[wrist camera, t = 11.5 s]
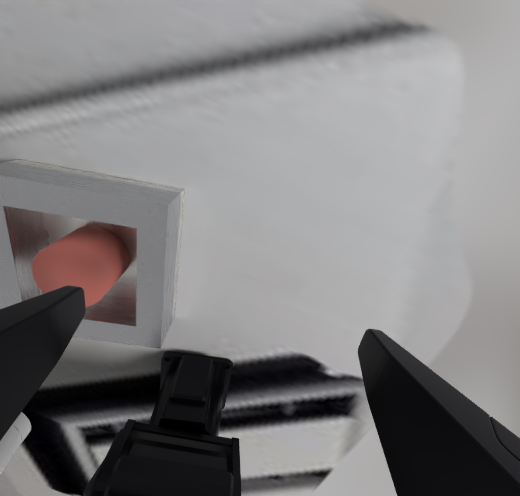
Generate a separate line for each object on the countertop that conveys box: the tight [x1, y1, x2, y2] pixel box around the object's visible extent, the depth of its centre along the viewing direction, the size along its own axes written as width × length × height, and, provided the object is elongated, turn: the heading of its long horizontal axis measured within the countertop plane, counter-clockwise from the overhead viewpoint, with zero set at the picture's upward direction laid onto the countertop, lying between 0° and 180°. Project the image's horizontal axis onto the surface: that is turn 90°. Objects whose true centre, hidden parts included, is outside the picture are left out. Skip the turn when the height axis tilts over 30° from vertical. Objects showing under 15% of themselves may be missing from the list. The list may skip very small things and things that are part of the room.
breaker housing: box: [0, 159, 185, 348], centre depth 20 cm, size 11×11×4 cm
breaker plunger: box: [32, 226, 129, 307], centre depth 19 cm, size 4×4×3 cm
